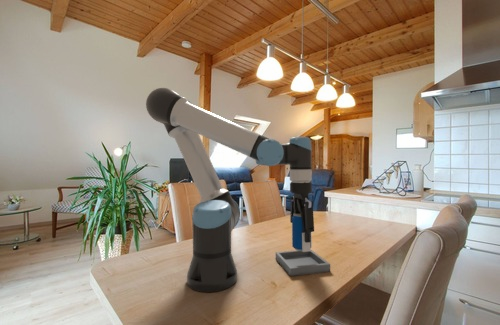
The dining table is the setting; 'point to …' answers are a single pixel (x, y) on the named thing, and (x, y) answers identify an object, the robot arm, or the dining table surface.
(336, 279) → the dining table surface
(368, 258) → the dining table surface
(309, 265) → the tray
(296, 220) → the beverage can
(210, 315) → the dining table surface
